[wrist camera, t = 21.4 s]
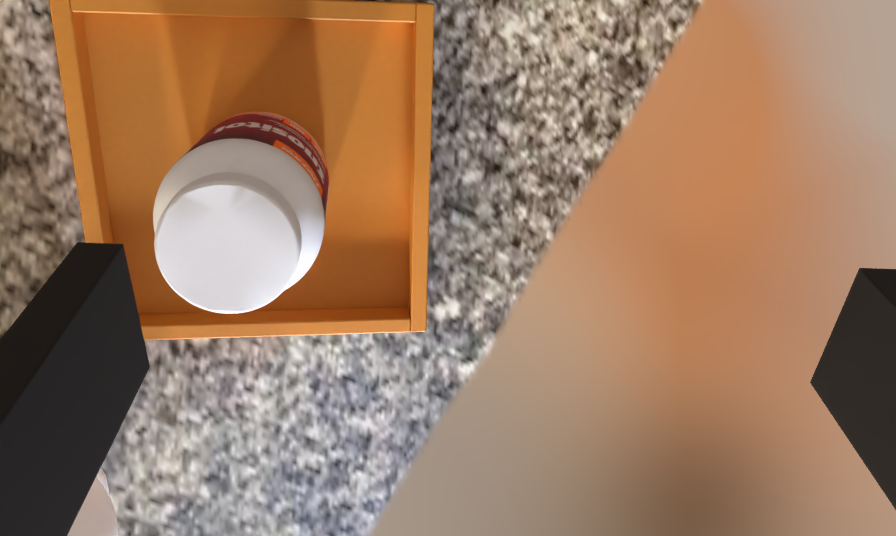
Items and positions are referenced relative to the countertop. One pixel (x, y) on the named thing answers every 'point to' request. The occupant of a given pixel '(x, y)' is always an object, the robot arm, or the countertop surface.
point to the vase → (96, 512)
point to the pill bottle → (242, 213)
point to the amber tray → (260, 90)
